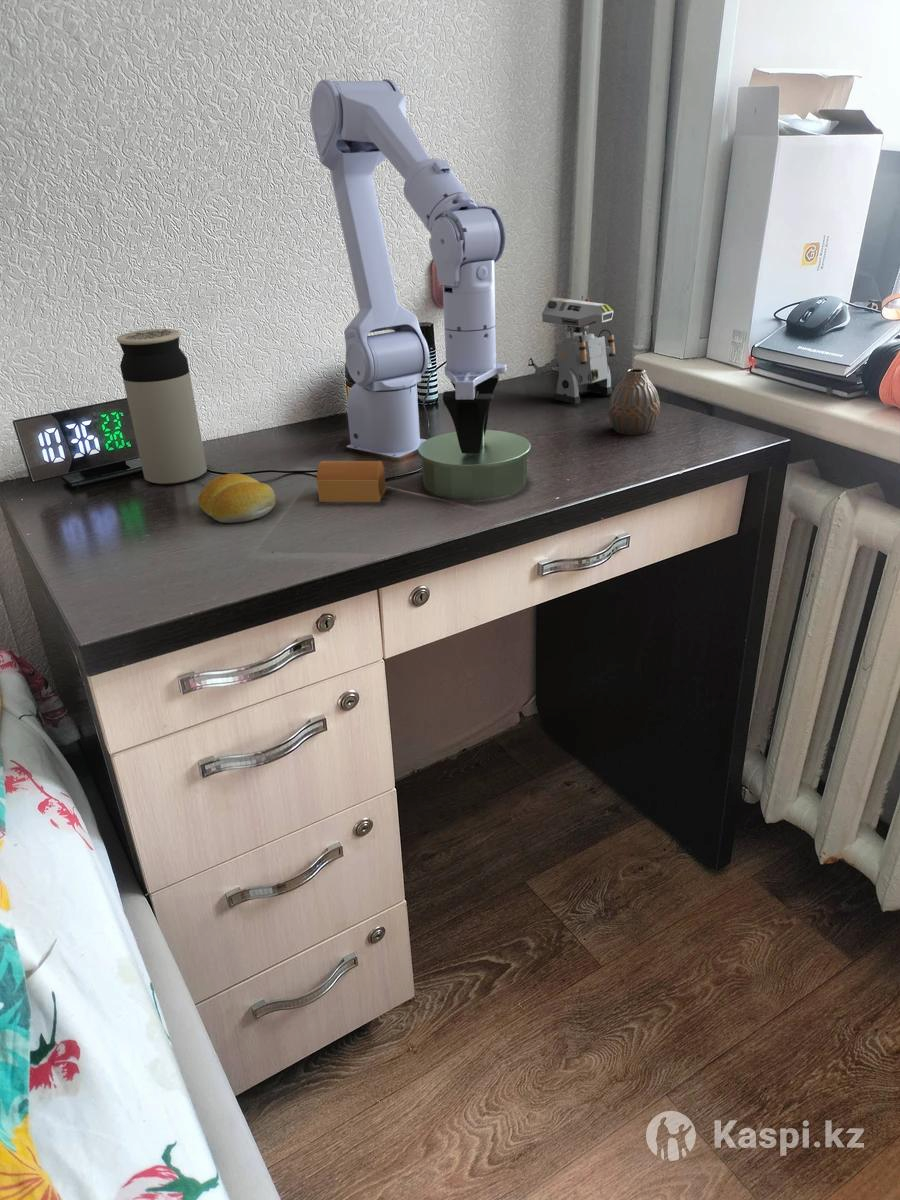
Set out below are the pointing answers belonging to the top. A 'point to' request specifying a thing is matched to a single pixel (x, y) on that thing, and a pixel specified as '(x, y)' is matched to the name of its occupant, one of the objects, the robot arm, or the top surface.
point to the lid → (493, 453)
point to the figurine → (579, 348)
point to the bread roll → (236, 498)
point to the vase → (634, 404)
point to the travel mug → (162, 406)
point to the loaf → (350, 481)
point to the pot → (474, 480)
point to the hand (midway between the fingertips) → (473, 444)
